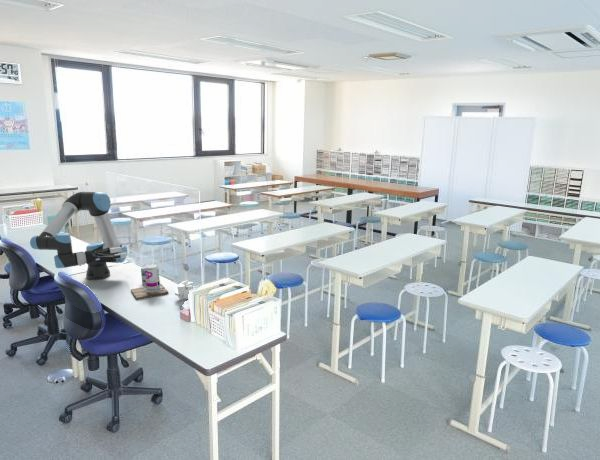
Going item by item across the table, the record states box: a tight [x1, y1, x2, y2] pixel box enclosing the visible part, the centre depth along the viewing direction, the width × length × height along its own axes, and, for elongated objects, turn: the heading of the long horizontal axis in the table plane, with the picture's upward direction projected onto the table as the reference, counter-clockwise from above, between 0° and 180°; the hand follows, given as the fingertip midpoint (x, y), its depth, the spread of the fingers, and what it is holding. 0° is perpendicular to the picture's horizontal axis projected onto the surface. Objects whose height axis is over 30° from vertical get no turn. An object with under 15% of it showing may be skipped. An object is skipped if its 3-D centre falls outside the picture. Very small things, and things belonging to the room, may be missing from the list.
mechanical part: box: [174, 279, 196, 302], centre depth 268 cm, size 11×12×12 cm
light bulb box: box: [140, 263, 159, 285], centre depth 298 cm, size 11×7×11 cm, turn 169°
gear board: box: [130, 283, 169, 301], centre depth 280 cm, size 16×19×2 cm
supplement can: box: [145, 264, 161, 291], centre depth 279 cm, size 8×8×15 cm
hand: (123, 252), depth 268 cm, fingers open, 13 cm apart
